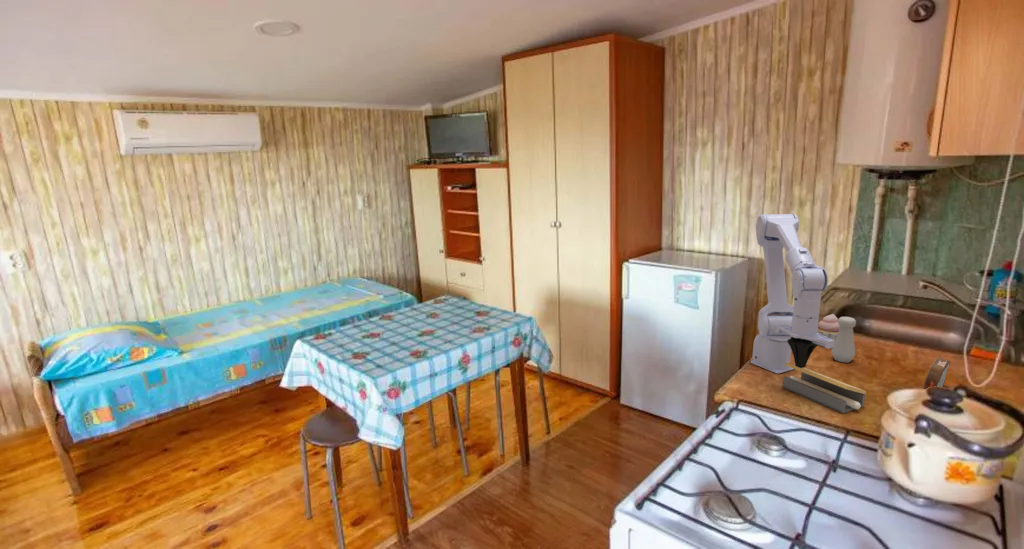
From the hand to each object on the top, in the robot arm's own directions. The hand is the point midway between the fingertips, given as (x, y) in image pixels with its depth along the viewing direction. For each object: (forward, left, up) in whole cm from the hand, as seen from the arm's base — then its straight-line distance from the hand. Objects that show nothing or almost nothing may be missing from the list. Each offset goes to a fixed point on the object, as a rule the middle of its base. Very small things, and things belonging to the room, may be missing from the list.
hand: (800, 366), depth 133 cm
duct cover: (+5, +3, -2) cm, 6 cm away
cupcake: (-17, +38, -7) cm, 43 cm away
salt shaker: (-7, +29, -7) cm, 31 cm away
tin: (+17, +28, -7) cm, 34 cm away
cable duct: (+5, +2, -7) cm, 9 cm away
